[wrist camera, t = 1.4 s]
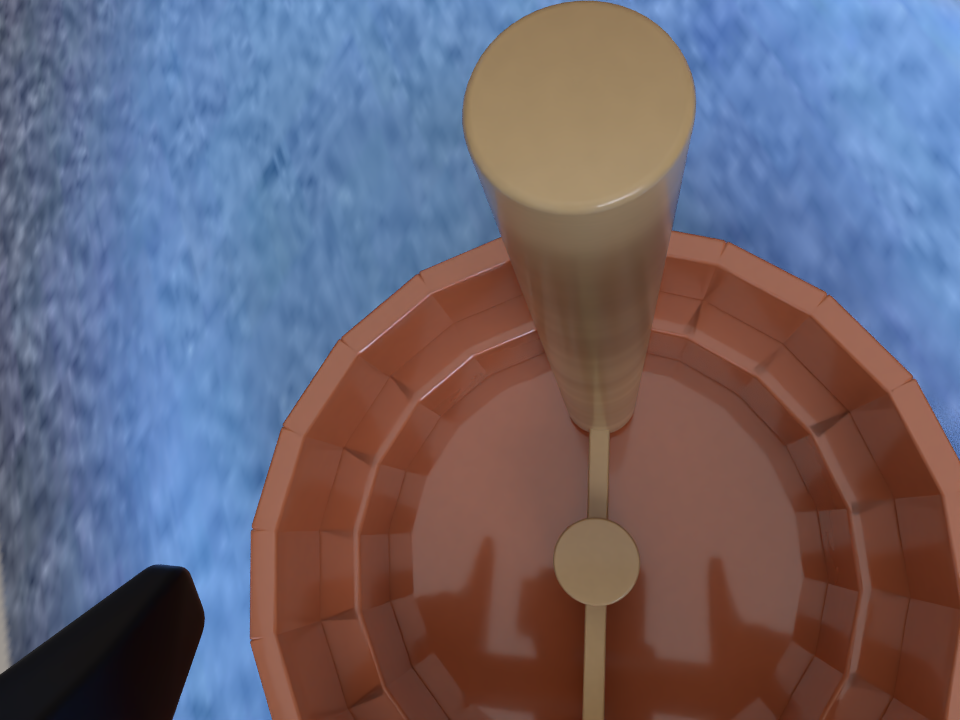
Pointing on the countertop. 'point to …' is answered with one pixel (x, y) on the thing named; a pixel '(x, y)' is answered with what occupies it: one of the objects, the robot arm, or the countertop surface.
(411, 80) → the countertop surface
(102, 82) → the countertop surface
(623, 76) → the stirrer
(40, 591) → the countertop surface
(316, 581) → the bowl
